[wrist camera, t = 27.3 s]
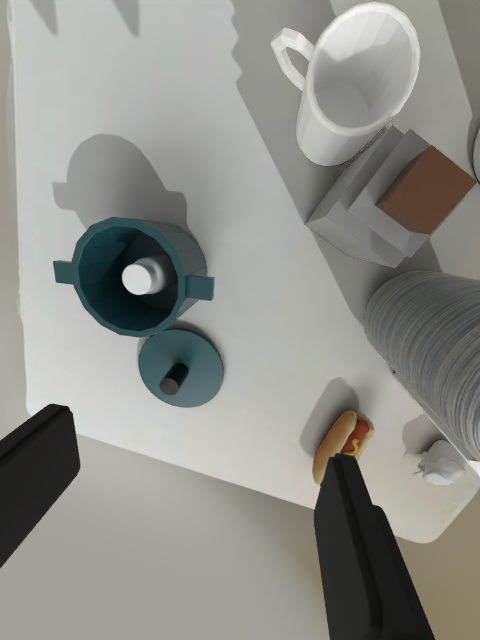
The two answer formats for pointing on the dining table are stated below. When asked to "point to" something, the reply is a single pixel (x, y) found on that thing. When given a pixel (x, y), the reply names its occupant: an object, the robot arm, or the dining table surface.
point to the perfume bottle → (390, 199)
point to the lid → (181, 368)
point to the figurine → (441, 464)
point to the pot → (123, 250)
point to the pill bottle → (149, 275)
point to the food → (343, 441)
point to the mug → (351, 78)
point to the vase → (433, 344)
